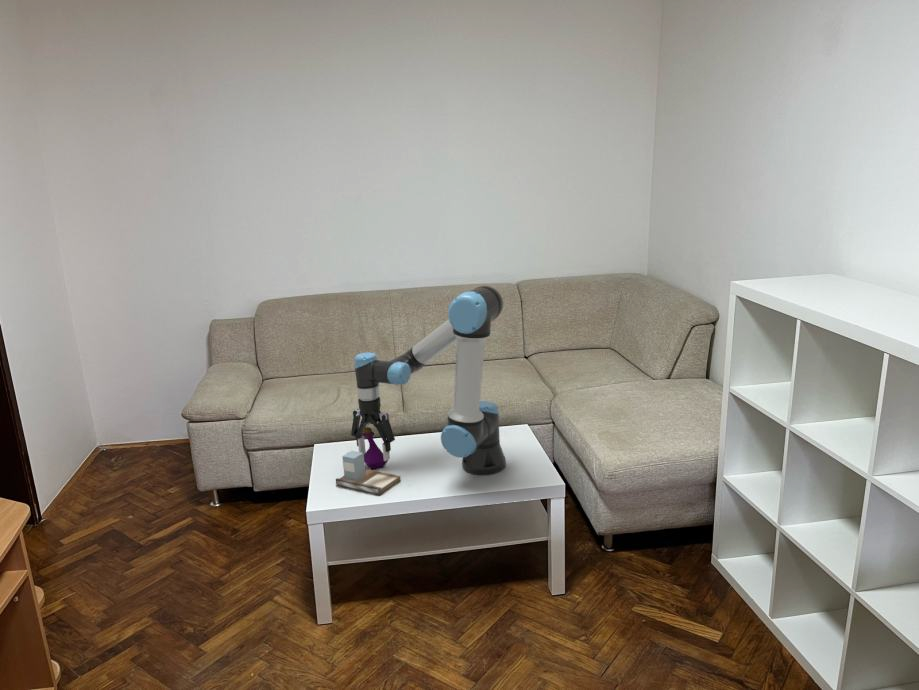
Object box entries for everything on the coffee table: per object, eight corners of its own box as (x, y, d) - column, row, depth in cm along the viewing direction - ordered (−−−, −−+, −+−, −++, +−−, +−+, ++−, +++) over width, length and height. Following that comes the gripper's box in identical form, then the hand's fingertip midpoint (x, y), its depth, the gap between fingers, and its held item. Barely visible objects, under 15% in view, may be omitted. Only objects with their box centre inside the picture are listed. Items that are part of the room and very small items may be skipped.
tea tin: (365, 474, 244) (363, 452, 242) (356, 480, 239) (353, 458, 237) (354, 472, 246) (351, 450, 244) (344, 478, 242) (342, 456, 240)
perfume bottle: (369, 473, 249) (364, 424, 245) (361, 466, 256) (357, 418, 251) (389, 468, 253) (385, 420, 248) (381, 461, 259) (377, 414, 255)
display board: (400, 481, 242) (400, 474, 241) (379, 496, 232) (378, 488, 231) (358, 472, 251) (357, 465, 250) (336, 486, 241) (335, 479, 240)
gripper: (402, 397, 245) (407, 458, 251) (350, 390, 257) (356, 448, 262) (389, 404, 239) (394, 466, 245) (336, 397, 250) (342, 456, 256)
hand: (374, 457), depth 253 cm, fingers closed on perfume bottle, 10 cm apart
